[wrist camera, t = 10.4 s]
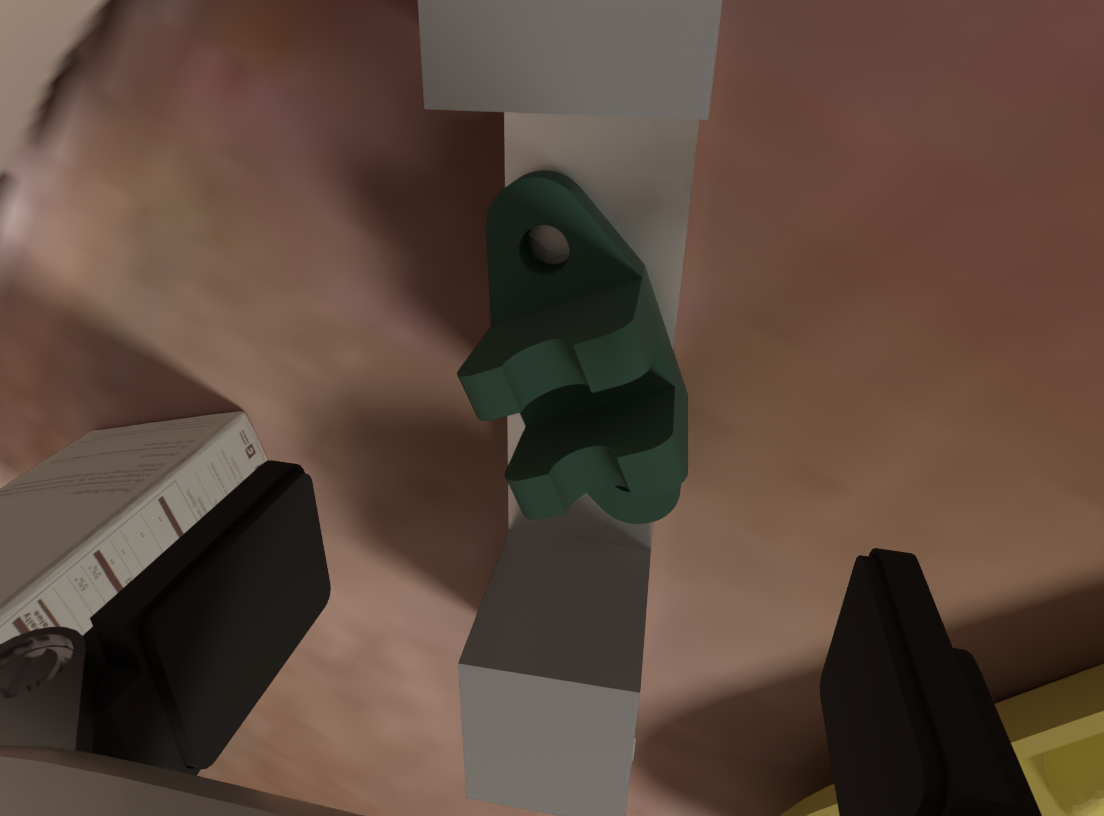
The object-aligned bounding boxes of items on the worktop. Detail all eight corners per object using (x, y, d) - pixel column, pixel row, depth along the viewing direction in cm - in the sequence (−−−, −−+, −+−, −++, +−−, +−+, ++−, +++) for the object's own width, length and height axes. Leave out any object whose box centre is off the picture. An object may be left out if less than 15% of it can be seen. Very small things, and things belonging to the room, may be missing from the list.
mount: (718, 486, 21) (725, 595, 17) (587, 514, 23) (563, 621, 18) (605, 143, 17) (577, 170, 13) (455, 202, 19) (384, 244, 14)
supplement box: (172, 574, 29) (-139, 885, 18) (89, 425, 26) (-348, 692, 15) (321, 566, 27) (76, 908, 16) (251, 405, 24) (-111, 693, 13)
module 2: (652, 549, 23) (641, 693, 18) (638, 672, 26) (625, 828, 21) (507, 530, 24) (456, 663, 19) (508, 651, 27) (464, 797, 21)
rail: (735, -207, 14) (737, -221, 14) (638, 656, 27) (636, 672, 26) (509, -200, 15) (500, -213, 15) (514, 636, 27) (509, 651, 27)
